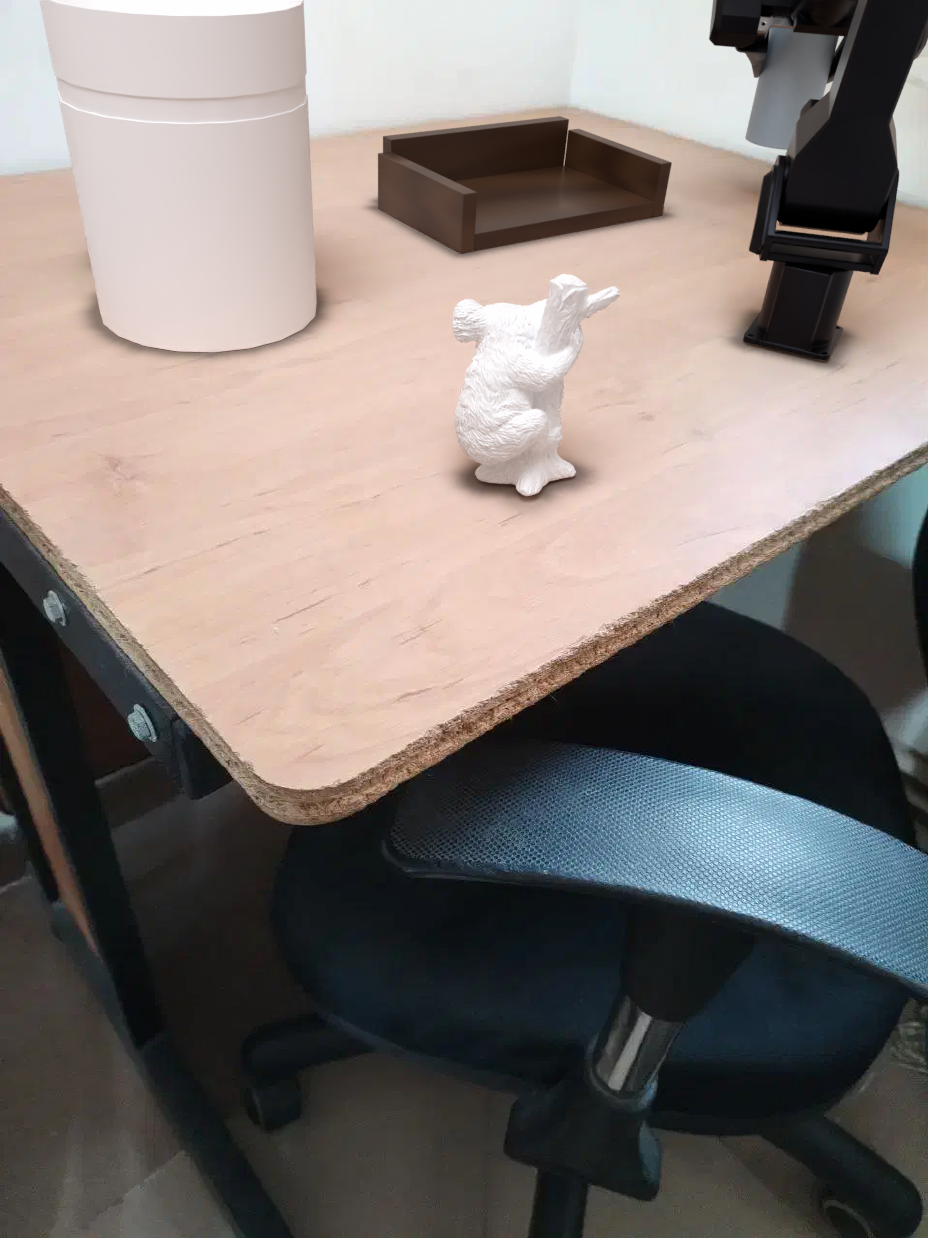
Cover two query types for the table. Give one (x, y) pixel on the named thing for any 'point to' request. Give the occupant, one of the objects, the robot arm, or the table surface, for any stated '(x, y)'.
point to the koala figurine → (521, 381)
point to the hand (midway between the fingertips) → (791, 76)
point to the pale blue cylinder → (788, 84)
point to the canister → (190, 165)
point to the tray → (515, 182)
